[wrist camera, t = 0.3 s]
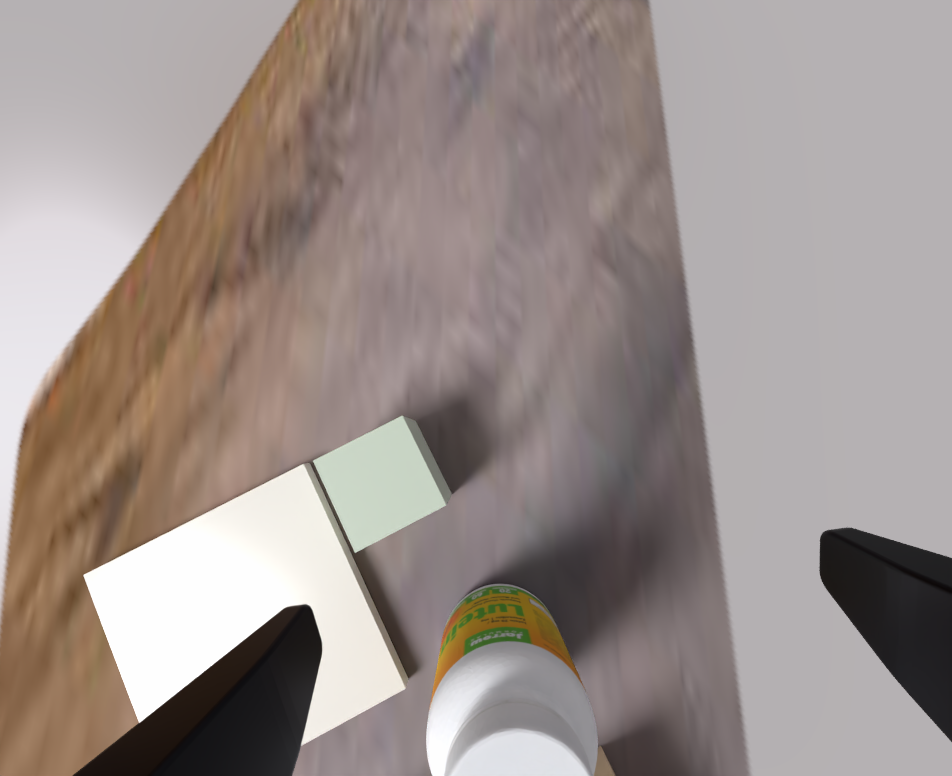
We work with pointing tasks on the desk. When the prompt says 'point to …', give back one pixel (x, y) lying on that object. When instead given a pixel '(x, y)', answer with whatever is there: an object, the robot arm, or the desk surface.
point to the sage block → (383, 481)
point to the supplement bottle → (508, 693)
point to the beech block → (603, 765)
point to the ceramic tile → (247, 600)
